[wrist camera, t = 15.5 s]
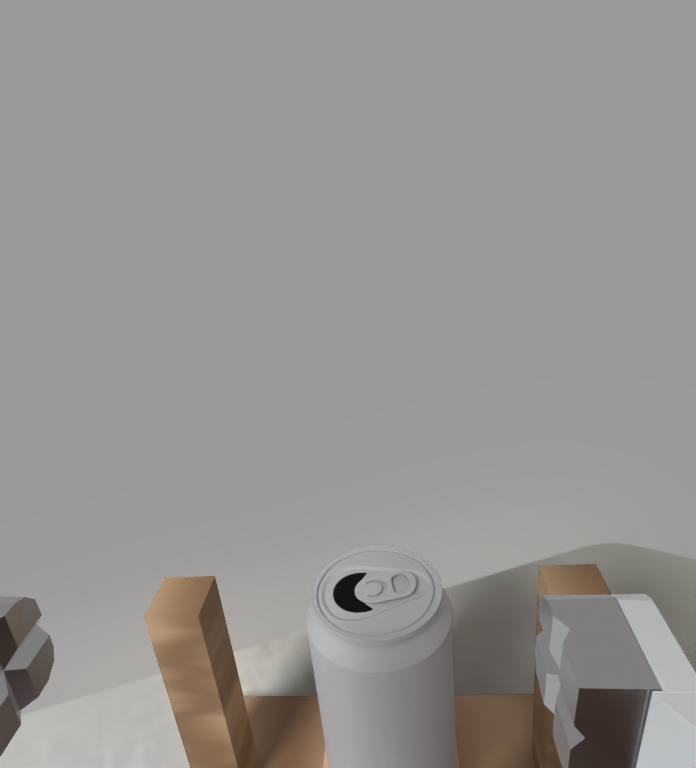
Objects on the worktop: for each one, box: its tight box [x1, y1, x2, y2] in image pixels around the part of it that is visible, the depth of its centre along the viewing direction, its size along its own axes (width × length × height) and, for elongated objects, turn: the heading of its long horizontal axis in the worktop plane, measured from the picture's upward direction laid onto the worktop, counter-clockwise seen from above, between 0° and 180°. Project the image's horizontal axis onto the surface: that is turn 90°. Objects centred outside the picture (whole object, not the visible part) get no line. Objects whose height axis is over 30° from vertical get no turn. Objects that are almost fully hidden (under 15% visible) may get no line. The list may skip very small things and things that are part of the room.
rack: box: [144, 564, 611, 768], centre depth 26 cm, size 20×9×14 cm, turn 86°
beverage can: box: [306, 546, 457, 768], centre depth 26 cm, size 6×6×12 cm
